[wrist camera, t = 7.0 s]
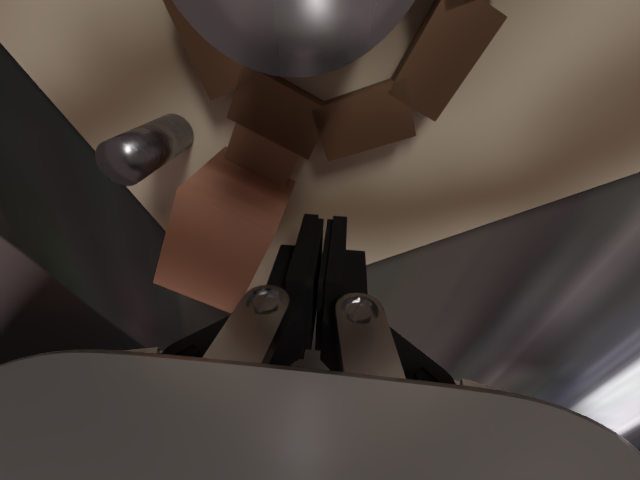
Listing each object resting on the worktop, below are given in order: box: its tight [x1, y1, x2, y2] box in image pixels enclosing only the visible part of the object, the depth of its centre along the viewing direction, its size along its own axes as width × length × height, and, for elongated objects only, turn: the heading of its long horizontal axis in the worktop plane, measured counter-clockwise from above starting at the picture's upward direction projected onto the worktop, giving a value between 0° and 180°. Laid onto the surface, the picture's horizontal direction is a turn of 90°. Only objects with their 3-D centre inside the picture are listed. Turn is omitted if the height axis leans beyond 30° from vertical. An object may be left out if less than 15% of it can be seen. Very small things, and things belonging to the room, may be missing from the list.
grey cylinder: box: [95, 0, 415, 186], centre depth 7 cm, size 3×10×8 cm, turn 117°
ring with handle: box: [153, 0, 507, 314], centre depth 9 cm, size 15×9×4 cm, turn 153°
